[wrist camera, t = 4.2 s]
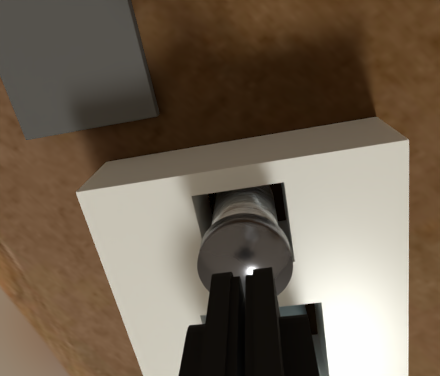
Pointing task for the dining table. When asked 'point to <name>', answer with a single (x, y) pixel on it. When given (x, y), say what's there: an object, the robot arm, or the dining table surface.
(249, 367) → the robot arm
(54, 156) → the dining table surface
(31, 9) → the mat
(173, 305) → the housing
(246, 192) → the grey dome-capped cylinder
